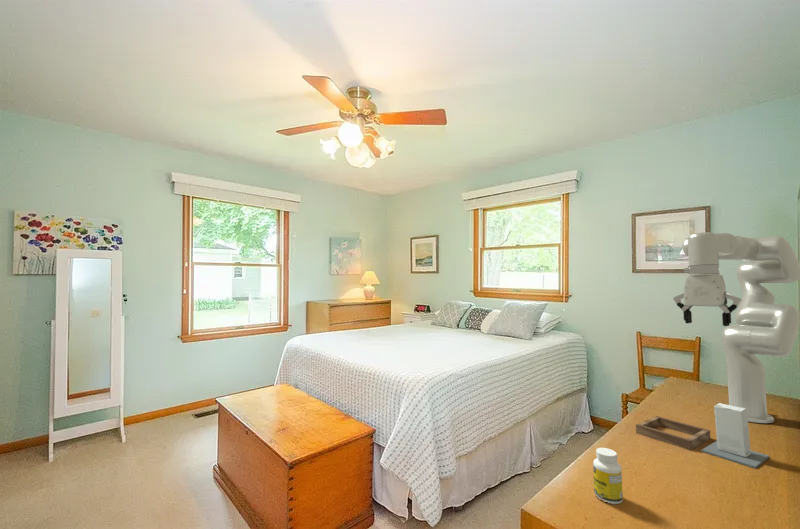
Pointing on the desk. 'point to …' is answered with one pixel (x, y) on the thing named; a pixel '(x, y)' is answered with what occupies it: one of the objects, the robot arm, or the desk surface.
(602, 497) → the supplement bottle
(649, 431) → the brown wooden frame
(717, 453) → the pad
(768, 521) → the desk surface
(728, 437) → the skincare box
